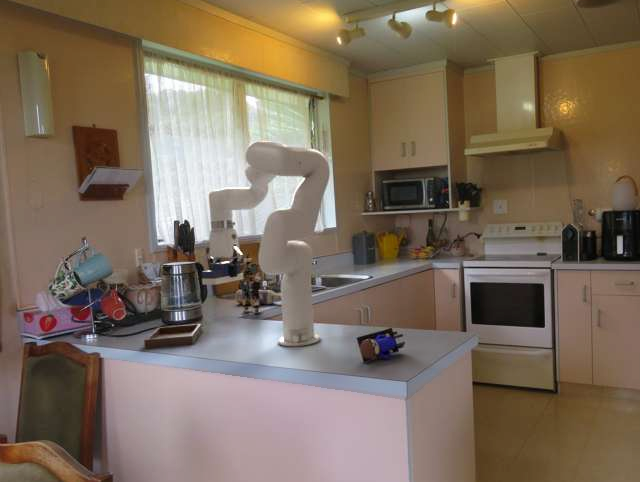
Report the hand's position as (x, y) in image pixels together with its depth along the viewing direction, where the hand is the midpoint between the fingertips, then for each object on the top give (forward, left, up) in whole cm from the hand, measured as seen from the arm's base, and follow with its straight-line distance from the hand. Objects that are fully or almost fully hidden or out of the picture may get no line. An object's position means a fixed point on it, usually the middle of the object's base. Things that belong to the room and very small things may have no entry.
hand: (226, 276), depth 189 cm
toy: (+32, -6, -20) cm, 38 cm away
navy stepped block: (-1, +1, -2) cm, 2 cm away
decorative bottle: (+54, -8, -20) cm, 58 cm away
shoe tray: (-6, +18, -19) cm, 27 cm away
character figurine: (-54, -44, -20) cm, 73 cm away
